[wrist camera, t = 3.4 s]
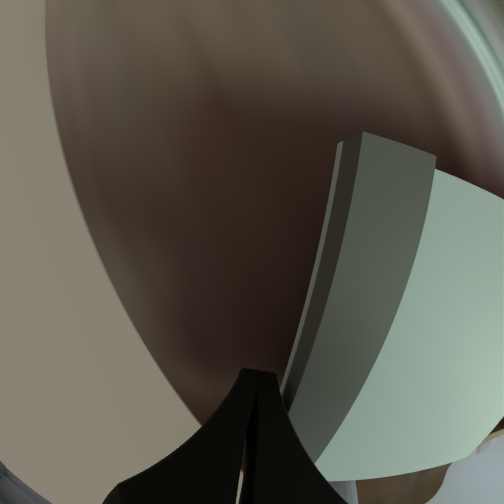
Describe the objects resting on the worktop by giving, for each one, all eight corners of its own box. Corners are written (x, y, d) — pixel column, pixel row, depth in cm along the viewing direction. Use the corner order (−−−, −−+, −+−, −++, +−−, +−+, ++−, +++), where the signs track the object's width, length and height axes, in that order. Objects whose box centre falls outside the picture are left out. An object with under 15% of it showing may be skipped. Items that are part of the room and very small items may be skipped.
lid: (463, 451, 12) (473, 473, 10) (252, 467, 13) (246, 502, 11) (575, 247, 7) (601, 260, 4) (338, 143, 8) (362, 131, 5)
